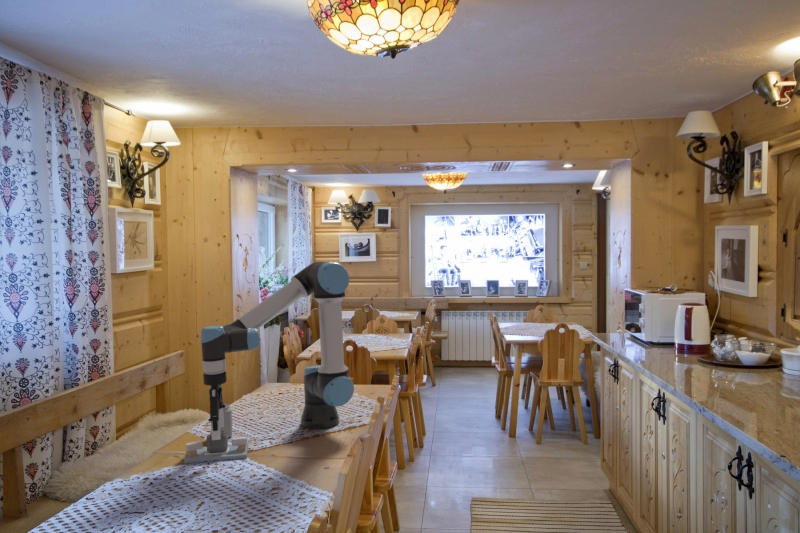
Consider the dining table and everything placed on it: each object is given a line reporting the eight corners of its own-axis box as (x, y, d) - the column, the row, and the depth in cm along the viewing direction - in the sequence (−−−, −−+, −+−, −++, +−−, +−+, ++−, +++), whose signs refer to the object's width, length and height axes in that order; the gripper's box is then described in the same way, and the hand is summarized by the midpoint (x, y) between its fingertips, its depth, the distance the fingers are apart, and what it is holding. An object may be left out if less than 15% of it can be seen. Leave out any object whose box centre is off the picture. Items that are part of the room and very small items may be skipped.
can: (226, 441, 220) (225, 408, 220) (207, 440, 222) (206, 407, 221) (236, 434, 228) (235, 403, 227) (218, 433, 229) (217, 402, 229)
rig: (248, 446, 214) (247, 432, 213) (246, 458, 202) (246, 443, 202) (188, 451, 210) (187, 437, 209) (183, 463, 198) (182, 448, 198)
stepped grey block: (206, 453, 203) (206, 436, 203) (208, 449, 207) (207, 432, 207) (227, 452, 204) (226, 434, 204) (228, 447, 208) (227, 430, 208)
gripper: (207, 365, 216) (210, 423, 217) (198, 381, 192) (202, 446, 193) (228, 363, 218) (232, 421, 219) (222, 379, 193) (226, 443, 194)
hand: (218, 433), depth 206 cm, fingers open, 13 cm apart
